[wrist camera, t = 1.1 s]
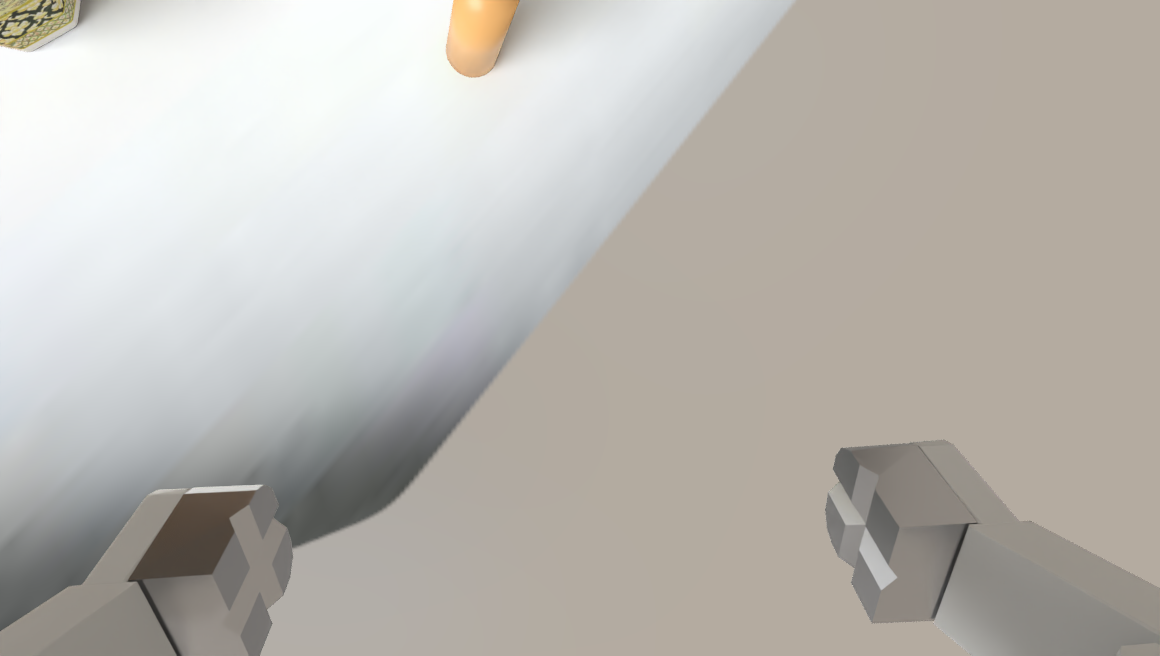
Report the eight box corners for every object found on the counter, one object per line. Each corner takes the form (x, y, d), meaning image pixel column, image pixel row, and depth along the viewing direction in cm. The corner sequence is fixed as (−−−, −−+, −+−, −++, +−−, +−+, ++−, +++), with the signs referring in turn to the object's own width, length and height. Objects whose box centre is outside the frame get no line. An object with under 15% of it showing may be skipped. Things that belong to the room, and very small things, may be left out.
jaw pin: (441, 69, 39) (451, 7, 30) (451, 19, 39) (463, -57, 30) (491, 83, 40) (514, 27, 31) (501, 34, 40) (527, -36, 31)
